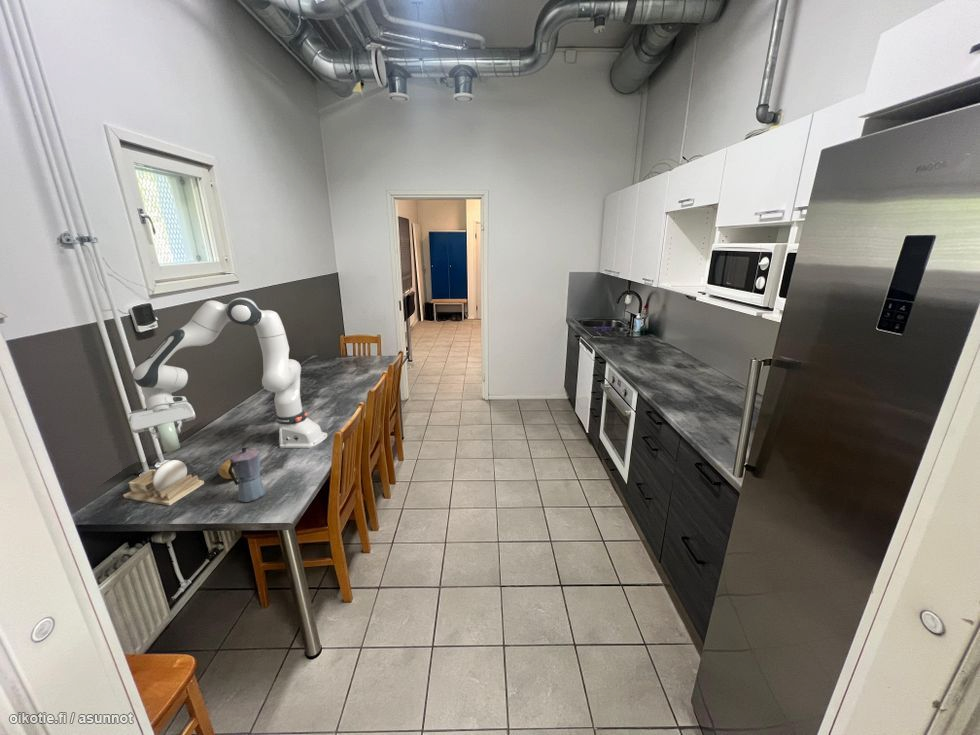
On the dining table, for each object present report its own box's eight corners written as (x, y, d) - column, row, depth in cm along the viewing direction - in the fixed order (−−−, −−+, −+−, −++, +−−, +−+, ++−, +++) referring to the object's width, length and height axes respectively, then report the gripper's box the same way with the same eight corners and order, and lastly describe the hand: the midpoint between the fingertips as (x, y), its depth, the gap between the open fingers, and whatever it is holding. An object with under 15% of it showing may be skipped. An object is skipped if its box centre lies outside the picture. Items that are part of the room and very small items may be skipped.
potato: (258, 464, 166) (254, 448, 164) (240, 483, 153) (236, 466, 150) (234, 466, 166) (230, 449, 163) (215, 485, 152) (210, 468, 150)
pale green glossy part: (183, 445, 158) (176, 421, 154) (170, 452, 153) (163, 427, 149) (173, 444, 159) (166, 420, 155) (160, 450, 154) (153, 426, 151)
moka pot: (275, 483, 153) (265, 439, 146) (253, 509, 138) (242, 460, 132) (251, 484, 152) (240, 440, 146) (227, 510, 138) (214, 461, 131)
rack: (204, 483, 153) (196, 454, 149) (169, 505, 141) (159, 474, 136) (161, 476, 158) (152, 448, 154) (124, 497, 145) (113, 467, 141)
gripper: (124, 409, 148) (132, 440, 144) (189, 395, 161) (198, 424, 158) (127, 415, 153) (135, 446, 149) (191, 402, 166) (199, 430, 162)
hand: (168, 434), depth 153 cm, fingers closed on pale green glossy part, 5 cm apart
